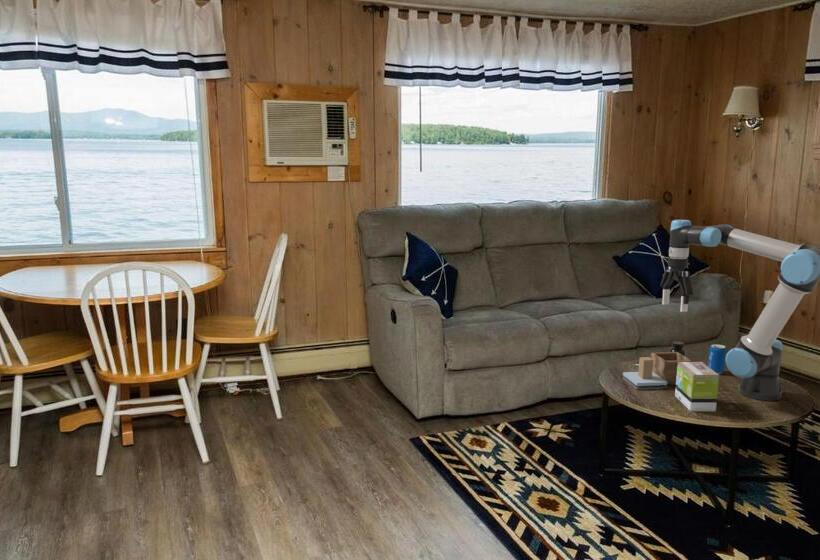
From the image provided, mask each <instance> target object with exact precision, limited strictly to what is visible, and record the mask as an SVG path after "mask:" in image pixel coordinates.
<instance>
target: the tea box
mask: <svg viewBox="0 0 820 560" xmlns="http://www.w3.org/2000/svg"><path fill="white" fill-rule="evenodd" d="M719 383H720V374H717V373H716V372H715V371H713V370H712V369H711V368H709V367H708V364H706V363H704V362H702V361H692V362H678V366H677V378H676V384H675V391H674V396H675V398H676V399H678V401H680V402H681V403H682V405H683V406H685V408H687V409H688V411H689V412H716V411H717V403H718V402H717V400H718V393H719Z"/></svg>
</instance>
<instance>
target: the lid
mask: <svg viewBox="0 0 820 560" xmlns="http://www.w3.org/2000/svg"><path fill="white" fill-rule="evenodd" d="M652 371H653V360H652V359H651V357H650V356H646V357H645V356H643V357H642V356H641V357H639V363H638V371H627V372H626V371H624V372H622V376H623V377H626V378H627V379H629V380H630V381H631V382H632V383H634V384H635V385H636V386H660V385H665V386H668V385H667V383H668V382H667V381H665V380H664V379H662V378H661V377H659V376H658V375H657V374H655V373H654V372H652Z"/></svg>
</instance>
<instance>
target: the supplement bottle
mask: <svg viewBox="0 0 820 560" xmlns="http://www.w3.org/2000/svg"><path fill="white" fill-rule="evenodd" d="M684 347H685V343H684V342H682V341H672V342H671V347H670V348H669V350H668V352H678V353H680V354H681V355H683V356H685V357H686V353H687V351H686V349H684Z"/></svg>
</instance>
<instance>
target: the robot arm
mask: <svg viewBox="0 0 820 560" xmlns="http://www.w3.org/2000/svg"><path fill="white" fill-rule="evenodd" d="M669 232H670V233H669V236H670V237H669V245H668V246H669V248H668V257H669V258H668V261H667V266H666V267H665V269H664V273H663V276H662V278H661V281H660V285H659V286H660V287H661V289H662V302H661V303H662V305H663V306H664V305H670V294H671V286H672V284H673V283H674V281H676V282H677V283H678V285H679V287H680V288H679V289H680V290H681V293H682V294H681V297H680V313H682V312H683V313H684V312H685V313H687V312H688V310H689V309H688V308H689V300H690V297H691V296H693V295H694V293H693V288H692V287H693V286H692V282H691V277H690V276H691V273H690V271H686V270H685V269H686V268H688V266H689V259H688V258H689V253H690V245H694V246H701V247H707V248H708V247H717V246H718V245H723V246H726V247H730V248H732V249H733V248H734V249H736V250H737V249H738V250H740V251H744V252H747V253H750V254H754V255H757V256H761V257H764V258H768V259H772V260H775V261H778V262H781V264H780V272H779V275H778V276H777V279H778V281H779V284H778V285H777V287H776V288H775V291H774V292H773V294H772V295H771V297H769V300H768V302H767V303H766V305H765V306H764V308H763V309H762V311H761V313H760V314H759V317H758V319H756V321H755V323H754V325H753V326H752V328H751V329H750V331H749V333H748V334H747V335H746V334H745V335H743V336H741V337H740V338H739V341H738V342H737V344H736V345H735V347H734V348H731V349H730V350H728V352H726V355H725V365H726V368H727V369H728V371H729V372H730V373H731V374H732V375H734V376H735V377H737V378H741V381H740V383H739V384H738V393H740V394H741V395H743V396H745V397H748V398H751V399H754V400H760V401H770V402H771V401H777V400H780V399H781V398H782V395H783V394H782V393H783V392H782V387H781V384H780V383H781V382H780V378H779V377H780V376H779V375H780V370H781V361H782V356H783V355H782V354H783V351H784V349H783V343H782V342H781V341H780V340H779V339H777V338H778V337H779V335H780V333H781V332H782V331H783V329H784V327H785V326H786V324H787V322H788V321H789V319H790V317H791V316H792V315H793V313H794V311H795V310H796V309H797V308H798V307H797V306H798V305H799V304H800V302H801V300H802V299H803V298H804V295H806V294H807V295H808V294H811V293H812V292H813V291H814V289H815V287H816V286H817V285H818V283H819V281H820V246H817V245H810V244H806V243H802V244H800V245H798V244H797V243H792V242H788V241H785V240H781V239H780V240H779V239H777V238H772V237H768V236H764V235H761V234H758V233H753V232H749V231H746V230H744V229H743V230H742V229H739V228H734V227H733V226H732V225H730V224H717V225H707V226H701V225H700V226H699V225H698V226H697V225H692V221H691V220H689V219H674V220H672V221H671V224H670V230H669Z"/></svg>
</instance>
